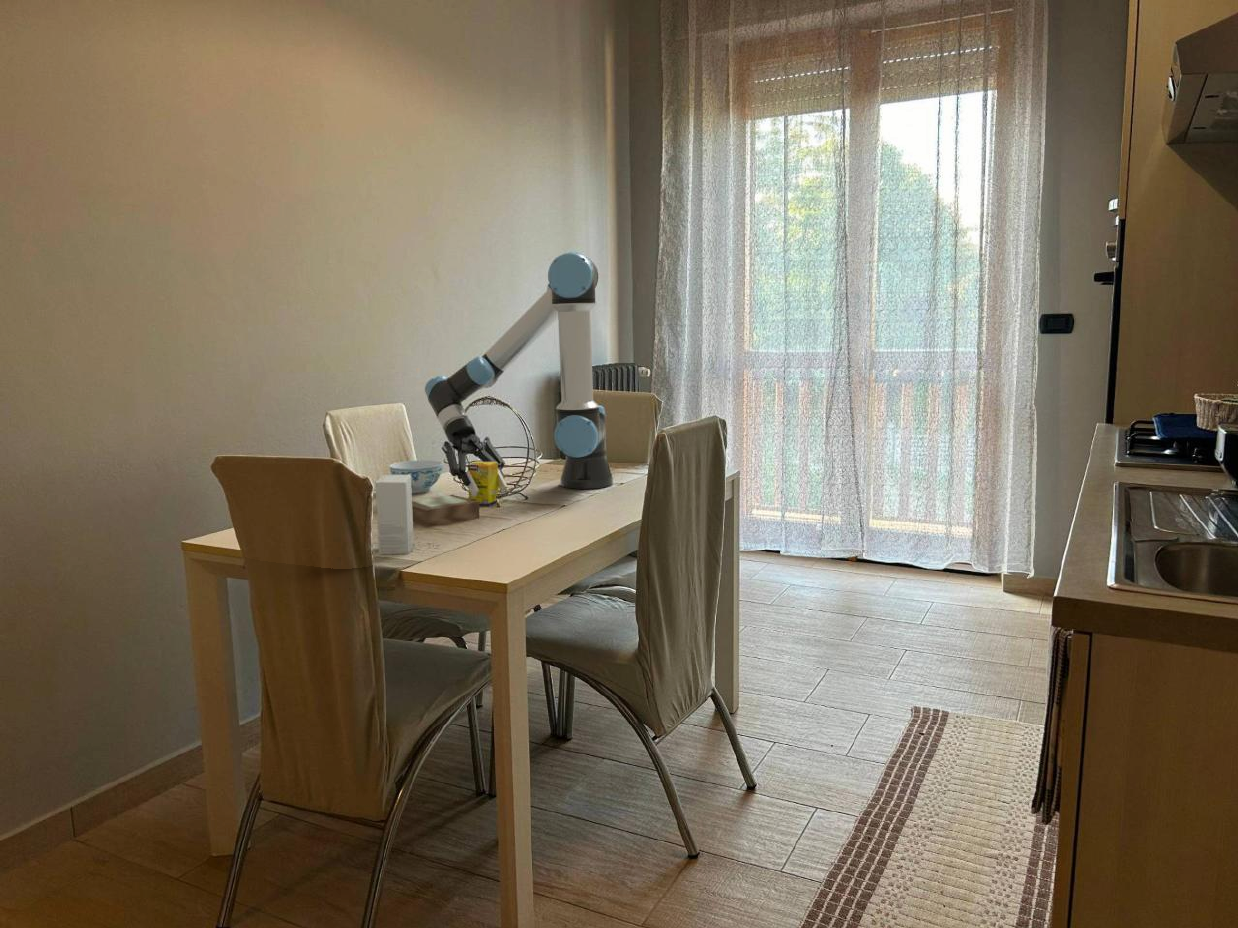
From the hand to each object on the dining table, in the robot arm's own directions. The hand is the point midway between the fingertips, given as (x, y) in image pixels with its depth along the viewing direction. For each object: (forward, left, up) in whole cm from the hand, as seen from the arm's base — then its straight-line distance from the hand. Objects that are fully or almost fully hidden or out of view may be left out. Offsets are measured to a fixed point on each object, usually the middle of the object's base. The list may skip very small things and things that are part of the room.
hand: (490, 491), depth 239 cm
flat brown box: (+17, +5, -4) cm, 18 cm away
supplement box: (0, -3, -4) cm, 5 cm away
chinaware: (+4, -33, -4) cm, 34 cm away
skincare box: (+39, +27, -4) cm, 47 cm away
